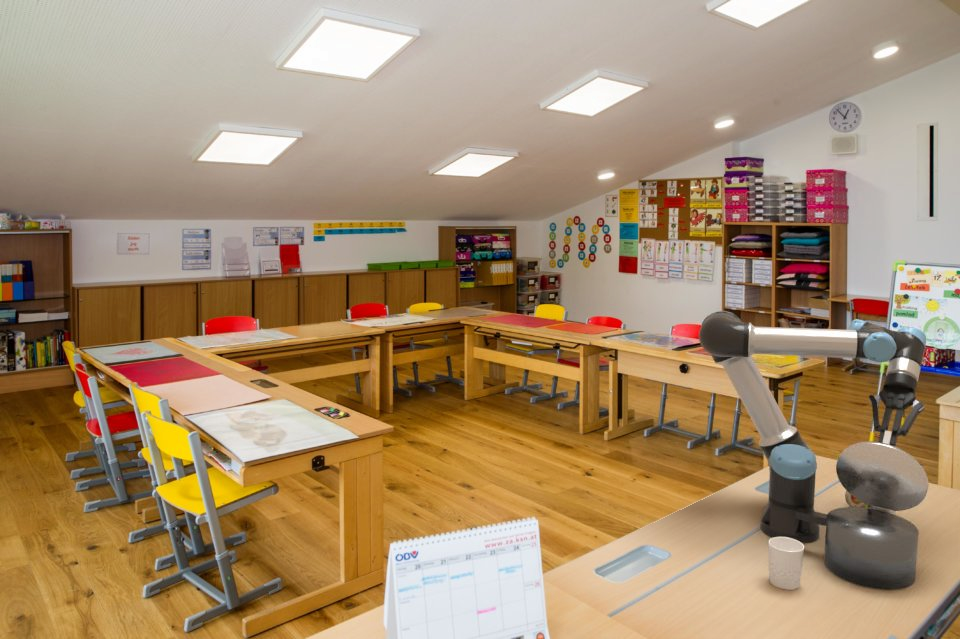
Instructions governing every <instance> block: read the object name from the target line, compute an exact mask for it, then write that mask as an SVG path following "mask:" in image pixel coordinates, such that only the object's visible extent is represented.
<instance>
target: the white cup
mask: <svg viewBox="0 0 960 639" xmlns="http://www.w3.org/2000/svg"><path fill="white" fill-rule="evenodd" d="M804 554H805V545H804V543H801V542H799V541H797V540H795V539H792V538H788V537H774V538H773V537H770V539H768V571H769V572H768V574H769V575H768V577H769V578H768V579H769V583H770V584H771V585H772V586H774V587H776V588H778V589H781V590H787V591H789V590H790V591H791V590H792V591H793V590H797V589H799V587H800V586H801V578H802V577H801V576H802V573H803V572H802V571H803V566H804V565H803V564H804Z"/></svg>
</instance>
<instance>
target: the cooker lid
mask: <svg viewBox="0 0 960 639" xmlns="http://www.w3.org/2000/svg"><path fill="white" fill-rule="evenodd" d="M835 470H836V475H837V478H838V480H839V483H840V485H842V487H843V488H844V489H845V491H846V490H847V491H848V492H849V493H850V494H851V495H852V496H853V497H855V498H856V499H858V500H859V501H861V502H863V503H865V504H867V505H868V508H870V509H876V510H880V511H884V512H888V513H891V514H894V515H896V514H895V513H896V512H901V511H902V512H903V511H908V510H911V509H913V508H915V507H916V506H919V505H920V504H921V503H922V502H923V501H924V500H925V498H926V497H927V493H928V489H929V478H928V474H927V472H926V470H925V469H924V467H923V465H922V464H921V463H919V461H918V460H917V459H916V458H915V457H913V455H911V454H910V453H908V452H907V451H905V450H903V449H902V448H900V447H897V446H892V445H889V444H886V443H881V442H879V441H871V440H870V441H860V442H857V443H853V444H851V445H849V446H847V447H846V448H844V449H843V450H842V452H840V454H839V456H838V458H837V460H836V465H835Z"/></svg>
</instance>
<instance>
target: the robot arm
mask: <svg viewBox="0 0 960 639" xmlns="http://www.w3.org/2000/svg"><path fill="white" fill-rule="evenodd" d="M737 316H738V315H735V314H734V313H733V312H730V311H726V310H718V311H714V312H712V313H711V314H708V315H707V316H706V317H705V318H704V319H703V321H702V322H701V324H700V325H701V327H700V329H699V332H698V340H699V344H700V345H701V347H702V349H703V350H704V351H705V352H706V353H708V354H709V355H710V356H711V358H712V360H713V361H714V363H715V364H716V365H719V366H722V367H723V370H724V371H725V373H726V375H727V377H728V379H729V380H730V382H731V384H732V386H733V388H734V389H735V391H736V393H737V395H738V397H739V399H740V401H741V402H742V405H743V406H744V408H745V410H746V412H747V414H748V415H749V418H750V419H751V421H752V423H753V425H754V427H755V428H756V431H757V432H758V434H759V436H760V439H759V441H758V445H759V448H760V449H761V450H762V453H763V455H764V456H765V459H766V460H767V463H768V469H769V478H768V479H769V482H768V483H769V484H768V485H769V486H768V502H767V504H766V507H765V509H764V512H763V514H762V515H761V520H760V529H761V531H762V532H763V533H765V534H766V535H767V536H769V537H770V538H774V537H788V538H792V539H795V540H797V541H799V542H801V543H802V544H804V543H810V542H814V541H817V540H818V539H819V537H820V530H821V529H820V525H819V524H815V523H811V522H807V521H803V520H799V519H795V511H796V510H797V509H798V508H803V509H807V510H811V511H815V491H816V487H815V486H816V474H817V472H816V471H817V469H818V463H817V457H816V454H815V452H813V451H812V450H811V448H810V447H809V445H808V444H807V443H806V442H805V440H803V438H802V436H801V434H800V432H799V430H798V428H797V427H795V426H793V425H790V424H789V423H788V421H787V419H786V417H785V415H784V414H783V411H782V409H781V408H780V406H779V405H778V403H777V401H776V399H775V397H774V395H773V394H772V392H771V390H770V388H769V386H768V384H767V382H766V381H765V379H764V377H763V375H762V373H761V371H760V370H759V368H758V365H757V364H756V362H755V360H754V357H753V355H775V356H792V357H795V356H797V357H814V358H815V357H819V358H820V357H822V358H841V359H861V360H868V361H869V360H870V361H872V362H874V363H886V362H888V361H889V362H888V364H887V369H886V372H885V378H884V381H883V385H882V386H883V387H882V388H881V390H880V391H879V394H876V395H874V394H870V395H869V396H868V398H869V399H868V400H869V403H870V405H871V407H872V421H873V422H872V423H873V428H874V431H875V432H879V436H878V442H881V443H886V444H889V445H892V446H895V447H897V446H896V445H897V441H898V437H900V436H903V437H906V436H907V435H908V433H909V431H910V429H911V428H912V426H913V424H914V423H915V421H916V419H917V418H918V416H919V414H921V413H922V412H923V411H924V410H925V403H924V402H923V401H918V400H917V397H916V392H917V388H918V382H919V376H920V373H921V368H922V363H923V360H924V359H923V358H924V356H925V355H924V354H925V352H926V349H927V348H926V347H927V346H926V345H927V335H926V334H925V332H924V331H922V330H921V329H919V328H917V327H913V326H912V327H909V326H904V327H901V328H899V329H898V330H897V331H896V330H892V329H889V328H886V327H882V326H880V325H877V324H875V323H873V322H869V321H867V320H865V321H864V320H861V319H858V318H856V319H853V320H852V321H851V322H850V324H849V326H848V328H847V329H834V328H833V329H832V328H805V327H803V328H802V327H801V328H800V327H775V326H771V327H770V326H755V325H753V324H752V322H742V321H741V319H740V318H739V317H737ZM880 401H881V402H882V404H883V405H884V407H885V410H884V414H883V417H882V421H881V424H880V416H879V415H880V414H879V407H878V405H879V404H880ZM911 406H912V408H911V410H910V411H909V413H908V415H907V417H906V418H905V420H904V422H903V424H902V420H903V415H904V412H905V410H907V409H908V408H910V407H911ZM894 410H895V416H894V420H893V425H892V427H891V430H889V426H890V422H891V418H892V414H893V411H894ZM901 424H902V425H901ZM815 512H816V511H815Z"/></svg>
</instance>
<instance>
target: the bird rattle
mask: <svg viewBox="0 0 960 639" xmlns="http://www.w3.org/2000/svg"><path fill="white" fill-rule="evenodd" d="M844 498H845V502H846V504H847V505H848V507H862V506H863V505H864V508H868V505H867V504H865V503H863V502H861V501H859V500H858V499H856V498H855V497H853V496H852V495H851V494H850V493H849V492H848V491H847V490H846V489H845V494H844Z"/></svg>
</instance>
